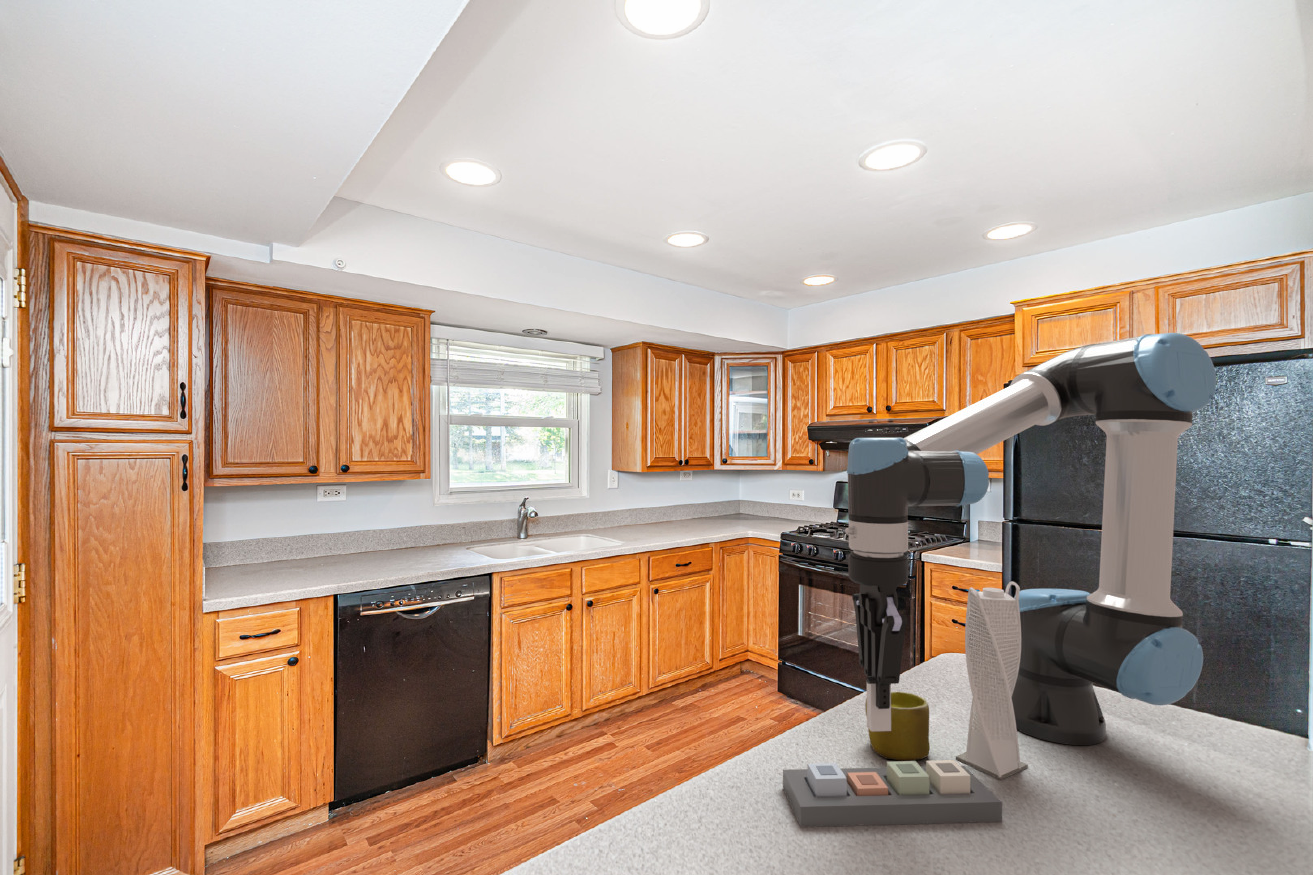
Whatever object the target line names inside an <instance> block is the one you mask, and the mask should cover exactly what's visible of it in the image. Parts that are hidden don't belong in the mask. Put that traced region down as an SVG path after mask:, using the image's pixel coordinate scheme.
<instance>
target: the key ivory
mask: <svg viewBox="0 0 1313 875" xmlns="http://www.w3.org/2000/svg"><path fill="white" fill-rule="evenodd" d="M961 766H962V765H960V764H959V763H958V762H957V761H956V759H952V760H951V759H948V760H947V759H946V760H944V759H943V760H926V761H925V767H926V773H927V774H928V776H929V783H930V784H931V786H932V787H933V788H934V789H935V790H936V791H937V792H938V793H939V794H964V793H970V775H969V774H968V773H967V772H966V771H965V770H964V769H963V768H962V767H961Z"/></svg>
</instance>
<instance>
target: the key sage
mask: <svg viewBox="0 0 1313 875" xmlns="http://www.w3.org/2000/svg"><path fill="white" fill-rule="evenodd" d="M886 767H887V782H888V783H889V784H890V786H891V787H892V788H893V790H894V791H895V792H896V794H897V795H922V794H929V776H928V774H927V773H926V772H925V771H924V770H923V769H922V768H921V767H922V766H921V765H920V764H919V763H918V762H917V761H916V760H914V761H898V760H894V761H886Z"/></svg>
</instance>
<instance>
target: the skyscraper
mask: <svg viewBox="0 0 1313 875" xmlns="http://www.w3.org/2000/svg"><path fill="white" fill-rule="evenodd" d="M1011 586H1015V594H1014V596H1015V599H1014V597H1013V596H1012V595H1010V594H1009V593H1010V589H1011ZM1020 591H1021V588H1020V586H1019V585H1018V583H1017V582H1015V581H1014V580H1013V581H1009V582H1008V583H1007V585H1006V588H1005V590H1004V589H1002V588H996V587H983V588H982V591H980V590H979V591H977V590H976V589H975V588H974V587H972V586H971V587H969V589H968V594H967V602H966V613H965V614H966V615H965V629H964V631H965V632H964V646H965V647H964V650H965V652H964V653H965V661H966V669H967V675H968V681H969V686H970V691H971V695H972V698H971V699H972V700H971V708H970V714H969V721H968V731H967V732H968V733H967V740H966V741H967V743H966V751H965V752H962V753H960V754H957V755H956V756H955V760H957V761H959V762H961V763H963V764H965V765H967V766H970V767H971V768H974V769H976V770H978V771H980V772H983V773H984V774H987V775H988V776H991V777H993V778H995V779H997V780H998V781H999V780H1000V781H1002V780H1004V779H1006V778H1008V777H1010V776H1012V775H1015V774H1017V773H1019V772H1021V771H1023V770H1025V769H1027V768H1029V766H1028V763H1026V762H1023V761H1021V756H1020V747H1019V740H1018V739H1019V738H1018V737H1019V736H1018V730H1017V729H1016V721H1015V715H1014V709H1013V703H1012V698H1011V697H1012V694H1013V691H1014V688H1015V684H1016V680H1017V676H1018V671H1019V665H1020V657H1021V623H1020V611H1019V592H1020Z"/></svg>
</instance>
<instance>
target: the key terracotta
mask: <svg viewBox="0 0 1313 875" xmlns="http://www.w3.org/2000/svg"><path fill="white" fill-rule="evenodd" d="M847 783H848V784H849V786H850V787H851V789H852V791H853V792H854V794H855V795H856V796H879V795H888V787H887V786H886V785H885V783H884V782H883V781H882V779H881V778H880V777H879V775H878V774H877V773H876V772H853V773H847Z"/></svg>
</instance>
